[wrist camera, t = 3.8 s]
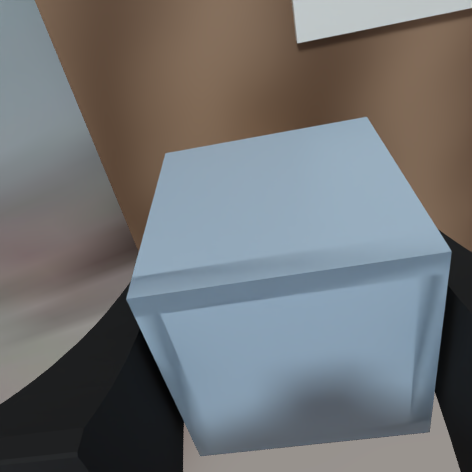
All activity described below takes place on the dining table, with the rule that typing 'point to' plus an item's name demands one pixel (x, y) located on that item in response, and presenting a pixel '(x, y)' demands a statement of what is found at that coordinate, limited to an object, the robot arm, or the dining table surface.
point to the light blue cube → (292, 290)
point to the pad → (362, 14)
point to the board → (265, 89)
